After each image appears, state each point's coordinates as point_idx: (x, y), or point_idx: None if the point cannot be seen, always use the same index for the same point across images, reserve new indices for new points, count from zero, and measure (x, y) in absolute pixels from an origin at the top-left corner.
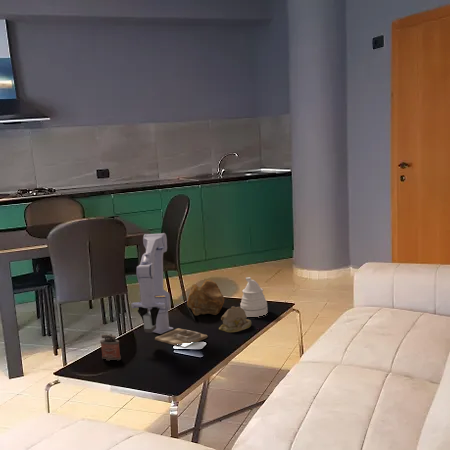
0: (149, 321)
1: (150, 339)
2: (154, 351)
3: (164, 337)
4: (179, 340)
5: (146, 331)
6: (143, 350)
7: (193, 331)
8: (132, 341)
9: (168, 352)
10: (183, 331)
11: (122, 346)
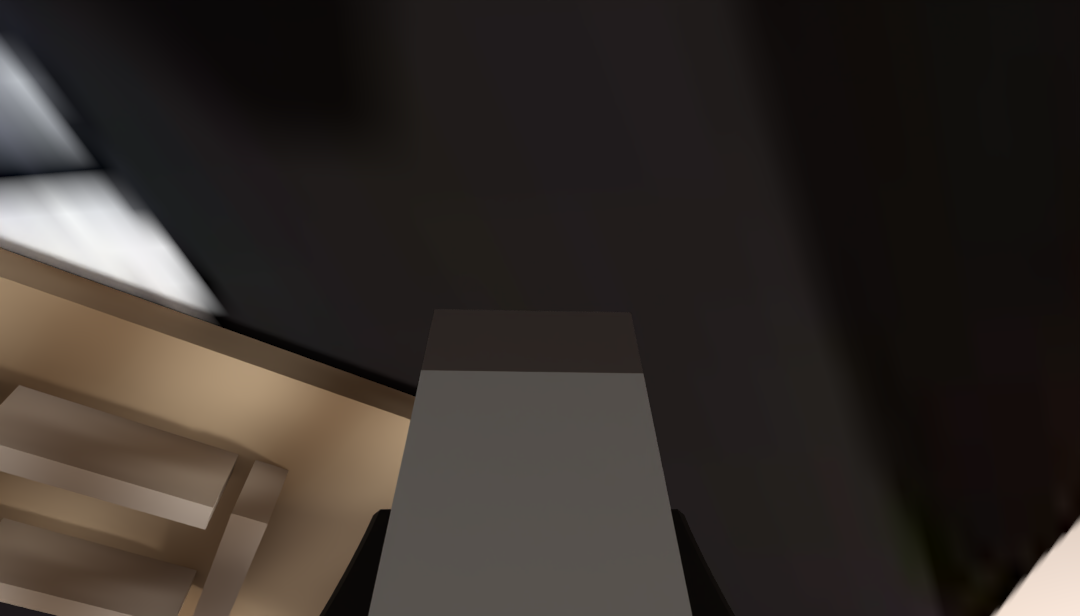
0: (413, 573)
1: (663, 466)
2: (384, 33)
3: None
4: (168, 421)
5: (573, 323)
6: (619, 64)
7: (47, 608)
8: (913, 395)
9: (85, 7)
10: (197, 604)
11: (1055, 209)
